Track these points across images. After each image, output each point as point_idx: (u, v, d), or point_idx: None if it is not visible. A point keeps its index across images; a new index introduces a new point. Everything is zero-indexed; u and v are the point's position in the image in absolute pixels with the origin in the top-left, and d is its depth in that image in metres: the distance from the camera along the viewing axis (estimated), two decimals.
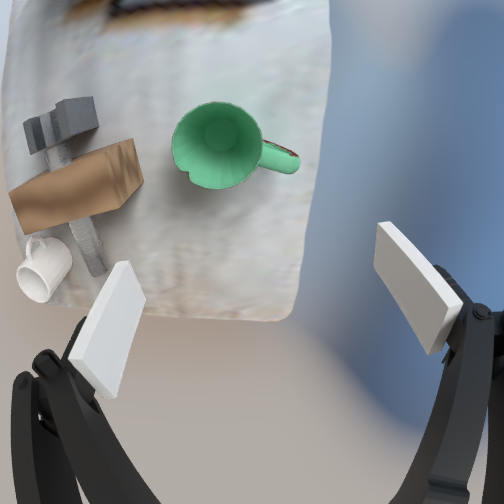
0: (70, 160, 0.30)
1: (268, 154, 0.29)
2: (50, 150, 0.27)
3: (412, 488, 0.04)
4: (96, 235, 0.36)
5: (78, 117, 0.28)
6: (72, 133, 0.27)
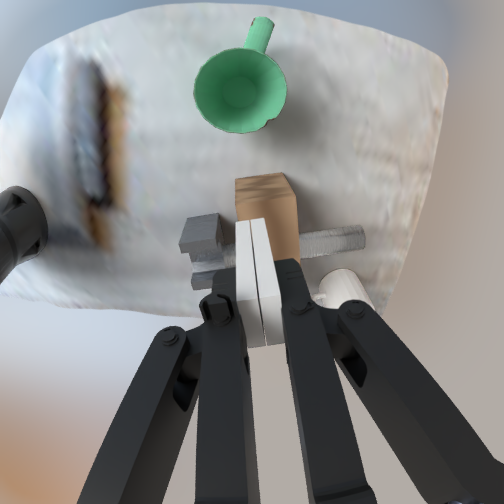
0: None
1: (251, 43, 0.23)
2: (225, 262, 0.38)
3: (312, 502, 0.04)
4: (324, 231, 0.39)
5: (201, 231, 0.39)
6: (213, 237, 0.37)
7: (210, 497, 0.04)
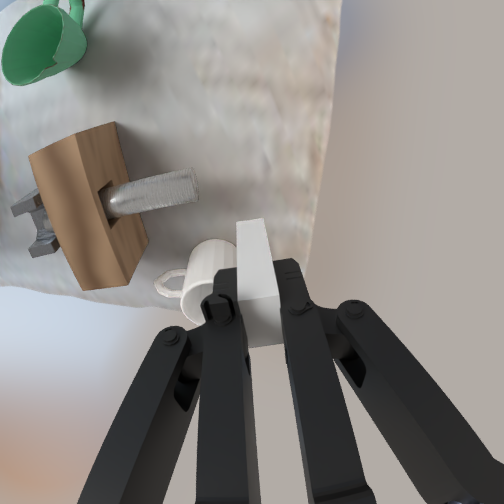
0: None
1: (45, 0, 0.12)
2: (44, 224, 0.27)
3: (311, 502, 0.04)
4: (141, 179, 0.28)
5: (33, 193, 0.28)
6: (33, 196, 0.26)
7: (211, 497, 0.04)
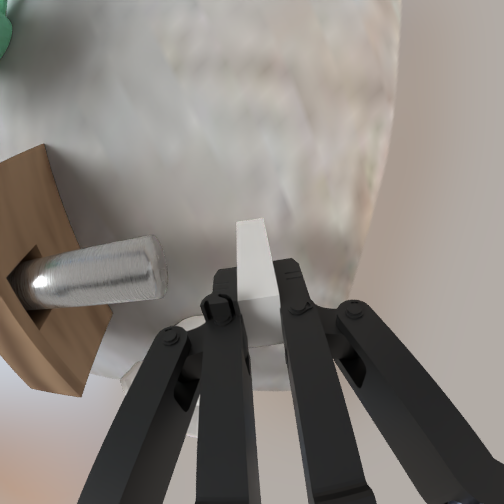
0: None
1: None
2: None
3: (311, 502, 0.04)
4: (69, 253, 0.15)
5: None
6: None
7: (211, 497, 0.04)
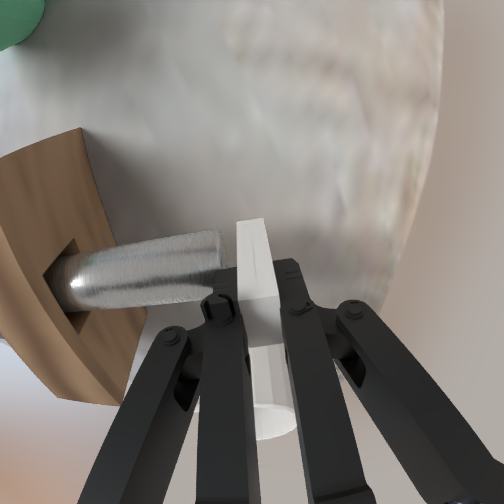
0: None
1: None
2: None
3: (311, 502, 0.04)
4: (117, 248, 0.14)
5: None
6: None
7: (211, 497, 0.04)
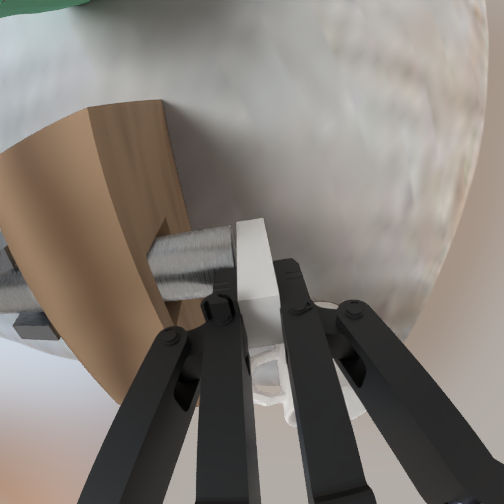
0: None
1: None
2: None
3: (311, 501, 0.04)
4: None
5: None
6: (5, 245, 0.12)
7: (211, 497, 0.04)
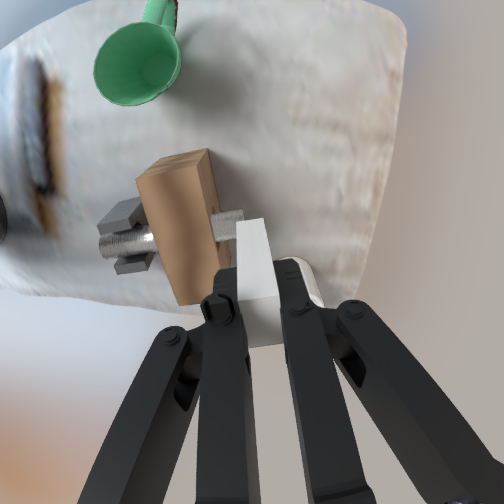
0: (117, 232, 0.35)
1: (147, 17, 0.19)
2: (101, 251, 0.34)
3: (311, 502, 0.04)
4: None
5: (121, 212, 0.35)
6: (127, 217, 0.33)
7: (211, 497, 0.04)
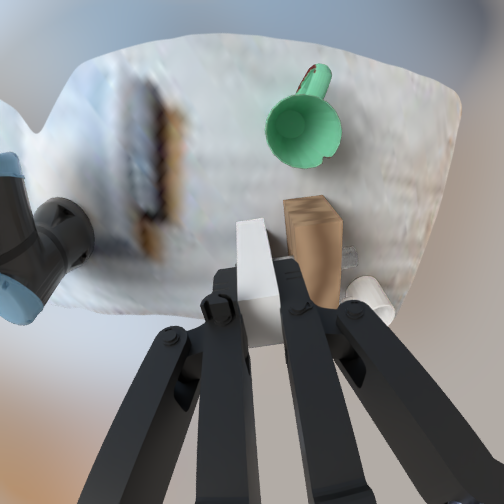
0: None
1: (314, 90, 0.30)
2: None
3: (311, 502, 0.04)
4: None
5: None
6: None
7: (211, 497, 0.04)
